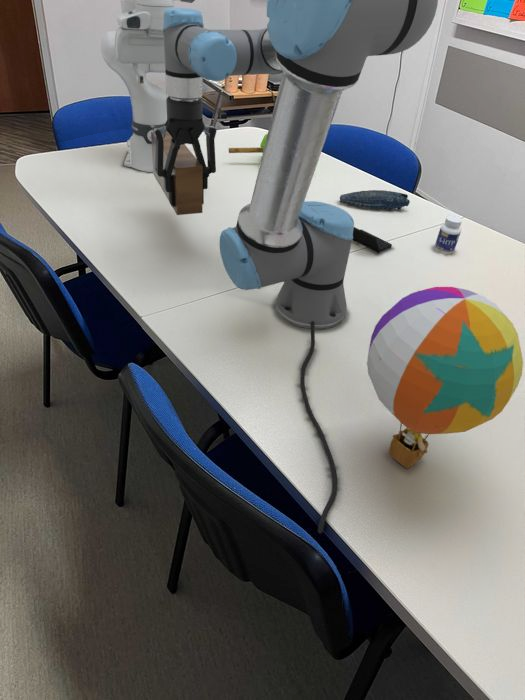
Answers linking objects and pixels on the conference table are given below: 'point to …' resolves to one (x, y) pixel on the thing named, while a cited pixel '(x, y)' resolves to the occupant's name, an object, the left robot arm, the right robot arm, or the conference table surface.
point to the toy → (442, 365)
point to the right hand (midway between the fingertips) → (186, 203)
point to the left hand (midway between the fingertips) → (158, 83)
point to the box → (182, 178)
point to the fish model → (376, 199)
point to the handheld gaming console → (370, 241)
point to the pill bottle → (448, 235)
